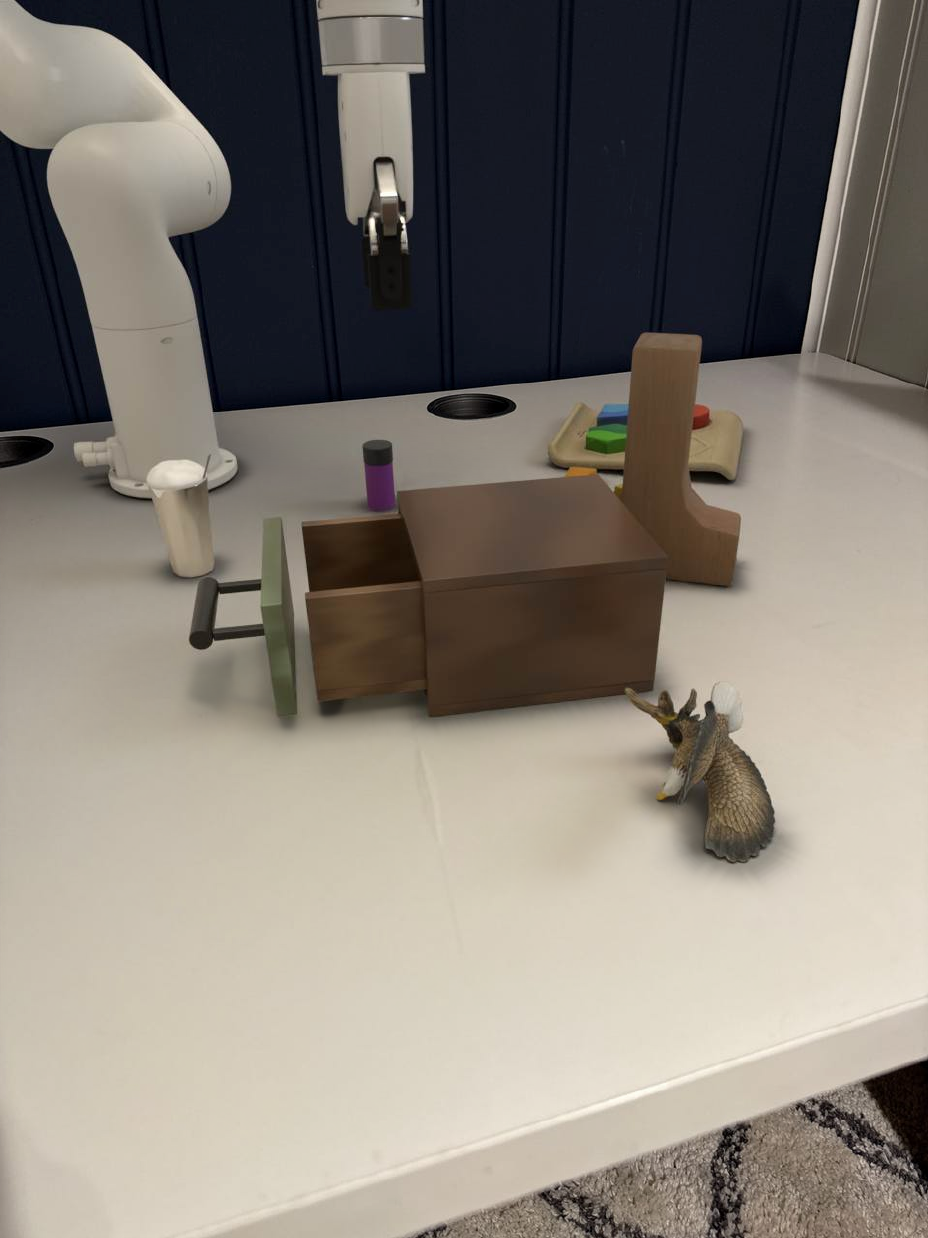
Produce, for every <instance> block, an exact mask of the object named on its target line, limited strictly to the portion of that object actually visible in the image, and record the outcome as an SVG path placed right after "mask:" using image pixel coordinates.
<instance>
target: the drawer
mask: <svg viewBox="0 0 928 1238" xmlns="http://www.w3.org/2000/svg"><path fill="white" fill-rule="evenodd" d="M300 524H301V534H302V542H303V551H304V559H305V567H306V576H307V584H308V591H307V592H304V600H305V608H306V617H307V624H308V631H309V632H308V634H309V642H310V649H311V657H312V667H313V673H314V681H315V690H316V699H317V702H327V701H337V700H345V699H353V698H362V697H370V696H371V697H372V696H379V695H387V694H396V693H405V692H413V691H414V692H415V691H423V689H427V686H426V665H425V643H424V622H423V601H422V585H421V582H420V578H419V575H418V571H417V568H416V565H415V561H414V558H413V554H412V551H411V547H410V544H409V540H408V537H407V534H406V530H405V527H404V523H403V520H402V516H401V513H398V512H397V513H388V514H387V513H386V514H376V515H362V516H352V517H339V518H328V519H318V520H317V519H316V520H306V521H301V523H300ZM262 526H263V528H262V553H261V555H262V556H261V578H259V579H257V578H255V579H245V580H236V581H235V580H234V581H224V582H218V580H217V579H216V578H213V577H209V576H207V577H203V578H201V579H200V580H199V581H198V583H197V588H196V594H195V600H194V606H193V612H192V617H191V622H190V623H191V624H190V630H189V636H188V643H189V645H190V646H191V647H192V648H193V649H195V650H199V651H204V650H207V649H209V648H211V646H212V645H213V643H214V642H219V641H229V640H238V639H239V640H240V639H247V638H258V637H264V638H265V640H264V641H265V646H266V651H267V652H266V653H267V659H268V660H267V661H268V665H269V666H268V667H269V671H270V672H269V673H270V679H271V684H272V691H273V698H274V699H273V700H274V703H275V704H274V706H275V712H276V716H277V718H283V717H291V716H297V715H298V700H297V697H298V696H297V693H298V692H297V669H296V668H297V665H296V664H297V661H296V659H297V658H296V629H295V627H296V626H295V610H294V602H293V597H292V596H293V594H292V586H291V579H290V571H289V565H288V556H287V547H286V540H285V534H284V525H283V518H282V517H281V516H276V517H275V516H274V517H264V518H263V525H262ZM257 591H258V592H259V591H260V605H259V606H260V612H261V619H262V620H261V621H262V623H254V624H253V623H252V624H246V625H245V624H244V625H235V626H226V627H217V628H216V627H215V626H216V619H217V611H218V602H219V595H227V594H237V593H238V594H239V593H247V592H257Z"/></svg>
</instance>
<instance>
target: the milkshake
mask: <svg viewBox="0 0 928 1238" xmlns="http://www.w3.org/2000/svg"><path fill="white" fill-rule="evenodd" d="M210 456H211V454H210V455H208V458H207V462H206V466H205V469H204V468H203V467H202V466H201V465H199V464H198V463H195V462H192V461H190V460H169V461H163V462H161V463H159V464H158V465H156V466H155V467H154V468H152V469H151V470H150V472H149V474H148V476H147V484H148V488H149V491H150V494H151V497H152V498H151V500H152V504H153V506H154V510H155V513H156V515H157V520H158V522H159V523H158V524H159V526H160V530H161V533H162V537H163V540H164V543H165V547H166V550H167V555H168V558H169V561H170V564H171V568H172V571H173V573H174V574H175V575H176V576H178V577H181V578H191V579H192V578H196V577H201V576H205V575H207V574H208V573H210V572H212V571H213V570H214V567H215V557H214V545H213V534H212V522H211V513H210V499H209V498H210V497H209V496H210V495H209V490H208V480H207V468H208V464H209V460H210Z"/></svg>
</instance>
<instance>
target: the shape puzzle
mask: <svg viewBox="0 0 928 1238" xmlns="http://www.w3.org/2000/svg"><path fill="white" fill-rule="evenodd" d="M628 407H629V403H625V404H624V403H606V404H604V405H603V406H602V408H601V410H597V409H593V408H591V407H589V406H588V405H586V404H585V402H581V401H580V402H577V404H576V405H575V406H574V408H573V409H572V411H570V414H569V415H568V417H567V418H566V420H564V422H563V424H562V425H561V427H560V428H559V430H558V431H557V433H556V434H555V435H554V437H553V438H552V440H551V441H550V442H549V444H548V446H547V454H548V458H549V459H550V461H551V462H552V464H554V465H556V466H558V467H560V468H564V469H568V470H567V471H566V473H565V475H564V476H563V477H572V476H584V475H595V474H597V473H598V470H624V460H625V446H626V433H627V420H628ZM743 433H744V422H743V420H742V419H741V418H740V416H739V415H738V414H736V413H735V412H732V411H729V410H710V408H709V407H707V406H705V405H702V404H697V403H695V408H694V417H693V426H692V435H691V444H690V452H689V461H688V468H689V472H716V473H718V474H720V475H722V476H723V477H724V478H726V479H727V480H728V481H734V480H735V479H736V477H737V474H738V473H737V472H738V467H739V466H738V465H739V459H740V454H741V449H742V448H741V447H742V442H743ZM622 486H623V483H620V484H617V485H614V491H613V492H614V493H615V495H616V496H617V497H618V498H619V499H620V500H622Z"/></svg>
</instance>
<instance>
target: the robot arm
mask: <svg viewBox="0 0 928 1238" xmlns="http://www.w3.org/2000/svg"><path fill="white" fill-rule="evenodd" d="M315 2H316V13H317V21H318V22H317V24H318V36H319V37H318V38H319V48H320V60H321V71H322V76H337V111H338V112H337V113H338V114H337V115H338V130H339V141H340V143H339V144H340V155H341V167H342V179H343V180H342V183H343V194H344V205H345V214H346V218H347V220H348V222H350V224H352V225H353V226H358V224H359V223H358V222H359V219H358V218H362V231H363V236H362V237H361V236H360V237H361V238H360V239H361V252H362V253H361V254H362V264H363V265H362V267H363V268H362V269H363V280H364V285H365V287H367V288H369V294H370V295H369V297H370V306H371V309H372V310H374V311H376V312H377V311H396V310H398V311H399V310H409V309H411V308H412V307H413V304H414V301H413V280H412V279H413V278H412V277H413V276H412V258H411V257H412V256H411V252H409V244H408V234H407V225H406V224H407V223H408V222H409V221H410V220H412V218H413V215H414V213H413V212H414V155H413V154H414V152H413V151H414V150H413V125H412V123H413V122H412V103H411V102H412V100H411V83H410V75H413V74H414V75H415V74H417V75H418V74H425V73H426V65H425V63H426V60H425V59H426V58H425V34H424V32H425V31H424V30H425V29H424V20H423V19H424V6H423V5H424V4H423V0H315ZM0 132H1V133H2V134H4V135H5V136H6V137H7V138H8V139H10V140H11V141H13V142H14V143H16V144H18V145H20V146H22V147H26V148H31V149H37V150H45V149H46V150H52V151H51V152H50V155H49V158H48V162H47V167H46V182H47V189H48V194H49V197H50V201H51V204H52V207H53V210H54V212H55V215H56V217H57V219H58V222H59V225H60V227H61V229H62V232H63V234H64V236H65V238H66V240H67V244H68V246H69V249H70V251H71V253H72V256H73V260H74V262H75V265H76V269H77V273H78V276H79V279H80V283H81V287H82V290H83V294H84V295H83V296H84V298H85V304H86V308H87V312H88V317H89V321H90V324H91V328H92V333H93V337H94V342H95V346H96V352H97V356H98V360H99V364H100V370H101V374H102V379H103V383H104V388H105V391H106V396H107V401H108V407H109V409H110V415H111V418H112V424H113V427H114V432H115V434H114V436H109V437H106V440H105V441H94V440H92V441H78V442H73V453H74V457H75V460H76V462H80V463H81V462H82V464H83V465H84V467H85V468H88V467H89V468H91V467H99V466H107V465H108V467H110V469H109V471H108V475H107V476H108V480H109V481H108V482H109V484H110V487H111V488H112V489H113V490H114V491H116V492H118V493H120V494H122V495H125V496H128V497H131V498H132V497H133V498H139V499H152V497H151V494H150V491H149V488H148V484H147V476H148V474H149V472H150V470H151V469H152V468H154V467H155V466H156V465H158V464H159V463H161V462H163V461H169V460H190V461H192V462H195V463H198V464H199V465H201V466H202V467H203V468H204V469H205V466H206V462H207V458H208V455H210V454H211V456H210V460H209V464H208V468H207V480H208V491H210V490H212V489H215V488H218V487H220V486H222V485H223V484H225V483H227V482H228V481H230V480H231V479H233V477H234V476H235V475H236V473H237V472H238V469H239V467H238V462H237V457H236V455H235V454H233V453H232V452H230V451H229V450H227V449H225V448H222V447H219V441H218V435H217V430H216V423H215V417H214V411H213V405H212V398H211V392H210V386H209V380H208V374H207V367H206V360H205V356H204V349H203V343H202V337H201V330H200V324H199V319H198V312H197V307H196V301H195V295H194V291H193V288H192V284H191V282H190V279H189V277H188V274H187V271H186V269H185V267H184V266H183V263H182V262H181V260H180V258H179V257H178V255H177V254H176V252H175V249H174V248H173V246H172V243H171V242H170V240H169V238H171V237H174V236H179V235H184V234H189V233H194V232H197V231H201V230H204V229H207V228H208V227H210V226H212V225H214V224H215V223H216V222H218V221H219V220H220V219H221V218H222V217H223V216H224V214H225V212H226V211H227V209H228V207H229V204H230V200H231V195H232V181H231V175H230V174H231V173H230V170H229V167H228V164H227V161H226V159H225V156H224V155H223V153H222V151H221V149H220V147H219V145H218V144H217V142H216V141H215V139H214V137H212V135H211V134H210V133H209V131H208V130H207V129H206V128H205V127H204V125H202V123H201V122H200V121H199V120H198V119H197V118H196V117H195V115H194V114H193V113H192V112H191V111H190V110H189V109H188V108H187V106H186V105H184V103H183V102H181V100H180V98H178V97H177V95H175V93H174V92H173V91H172V90H171V89H170V88H169V87H168V86H167V85H166V83H165V82H163V80H162V79H161V78H160V77H159V76H158V75H157V74H156V73H155V72H154V71H153V70H152V68H151V67H150V66H149V65H148V63H146V62H145V61H144V60H143V59H142V58H141V57H140V56H139V54H137V53H136V51H134V50H133V49H132V48H131V47H130V46H129V45H127V44H126V43H124V42H123V41H122V40H120V39H118V38H117V37H115V36H114V35H112V34H110V33H108V32H105V31H104V30H101V29H97V28H93V27H88V26H81V25H71V24H59V23H52V22H49V21H44V20H42V19H39V18H37V17H35V16H33V15H32V14H31V13H29V11H27V10H25V8H23V7H22V6H21V5H20V4H19V3H18V2H17V1H16V0H0Z"/></svg>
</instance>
